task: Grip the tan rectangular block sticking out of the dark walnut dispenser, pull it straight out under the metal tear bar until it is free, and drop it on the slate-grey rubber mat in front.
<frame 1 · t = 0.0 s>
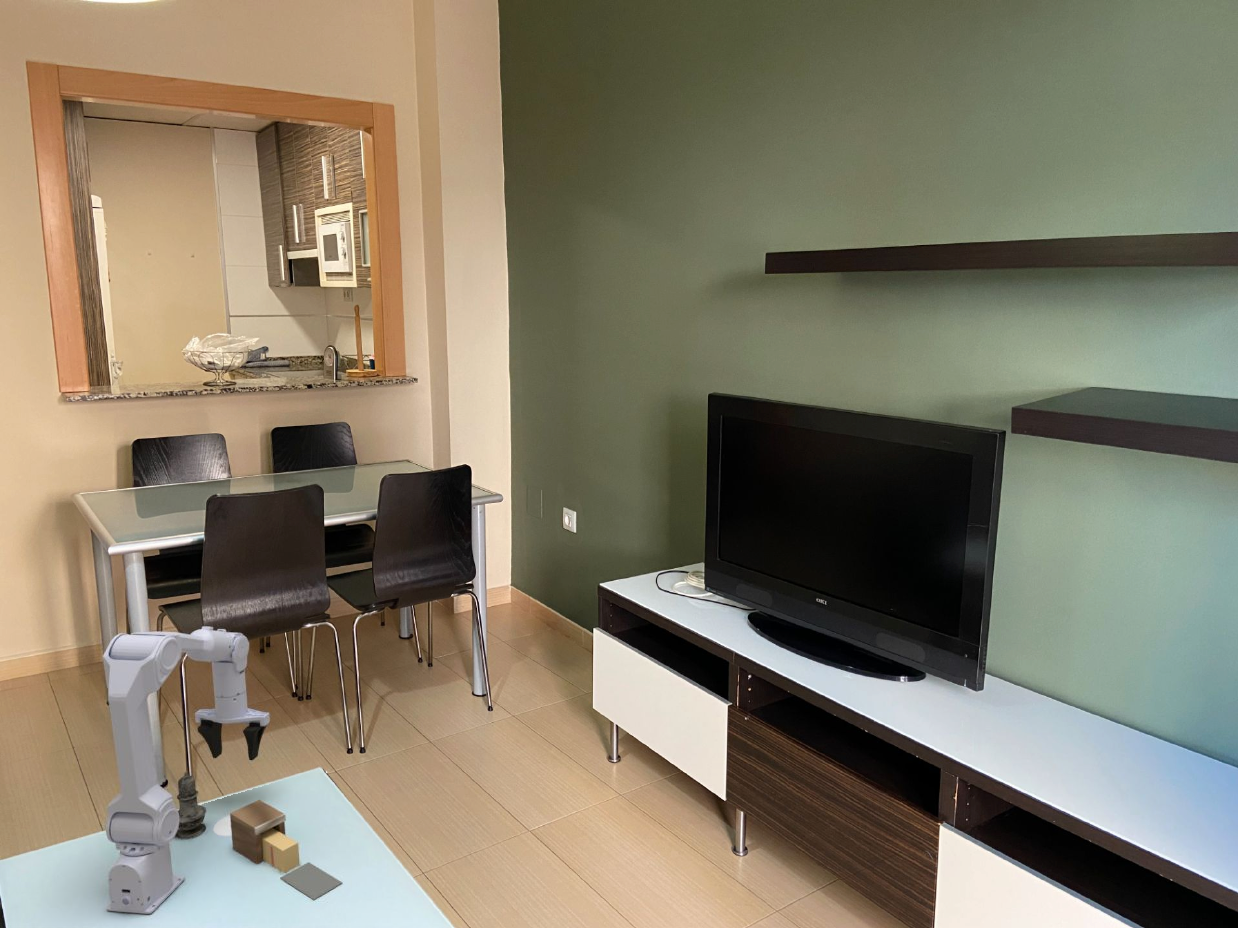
hand: (235, 756, 177), 10 cm above the table, tool pointing down, fingers open, 7 cm apart
tan rectangular block: (272, 858, 161), on the table
mat: (311, 880, 154), on the table
dispenser: (259, 848, 163), on the table
grey stone finial: (190, 831, 169), on the table
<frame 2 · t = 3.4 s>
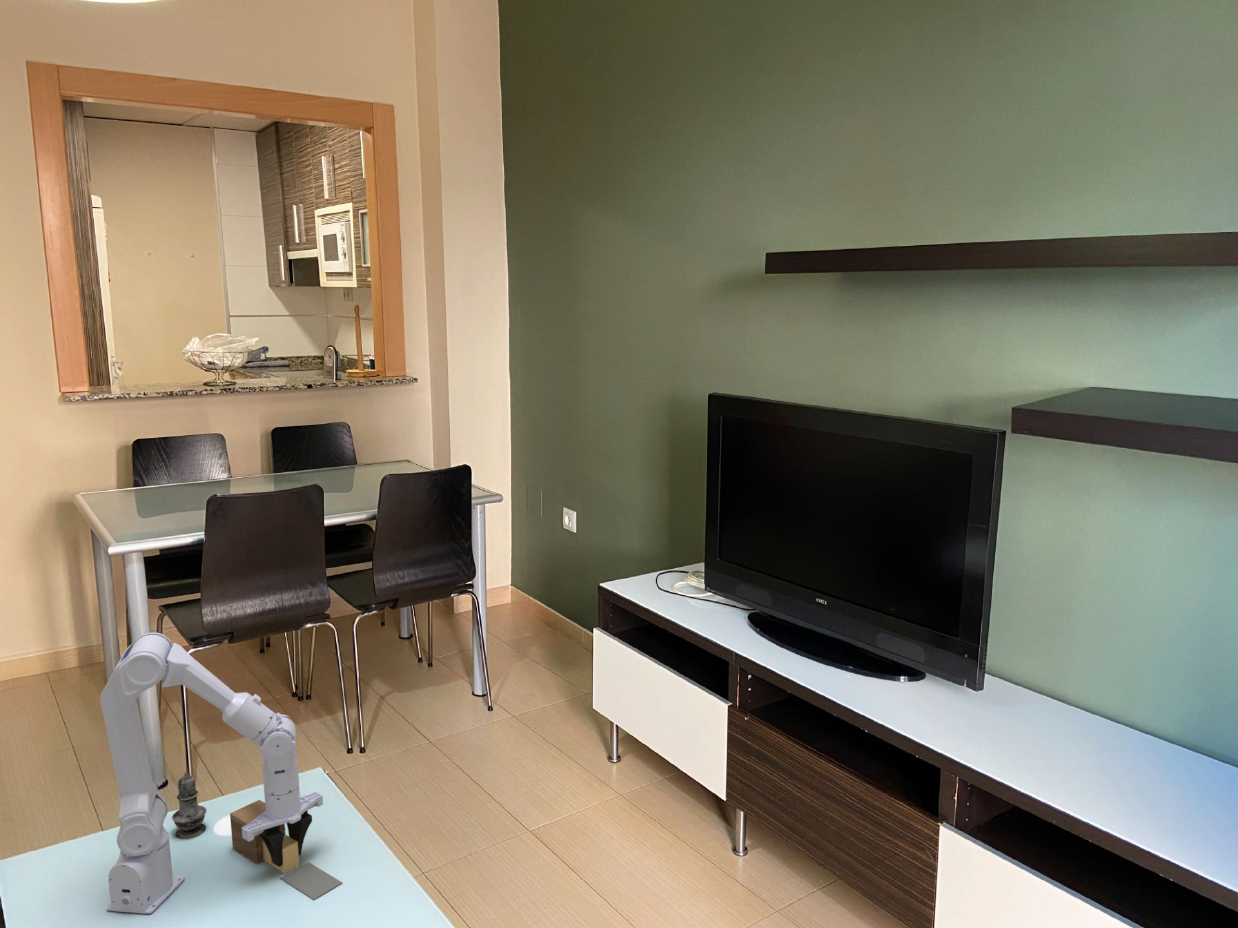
hand: (286, 858, 158), 1 cm above the table, tool pointing down, fingers closed on tan rectangular block, 3 cm apart
tan rectangular block: (272, 856, 161), on the table, touching gripper
everything else where it was.
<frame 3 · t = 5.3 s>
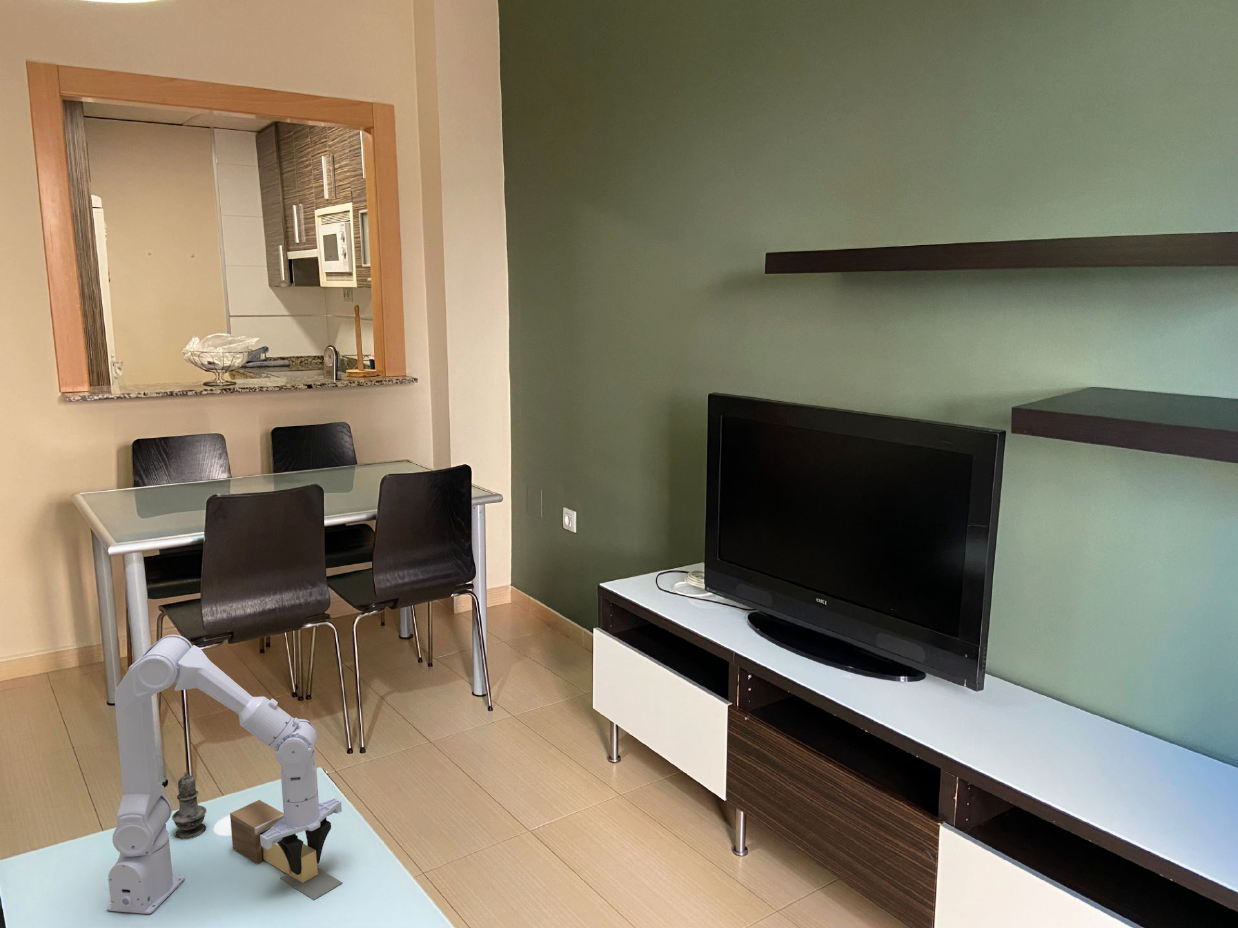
hand: (305, 866, 154), 2 cm above the table, tool pointing down, fingers closed on tan rectangular block, 3 cm apart
tan rectangular block: (290, 866, 158), on the table, touching gripper
everything else where it was.
when the fingers open (2 cm above the table, at t = 7.4 s): tan rectangular block stays where it is, resting on mat.
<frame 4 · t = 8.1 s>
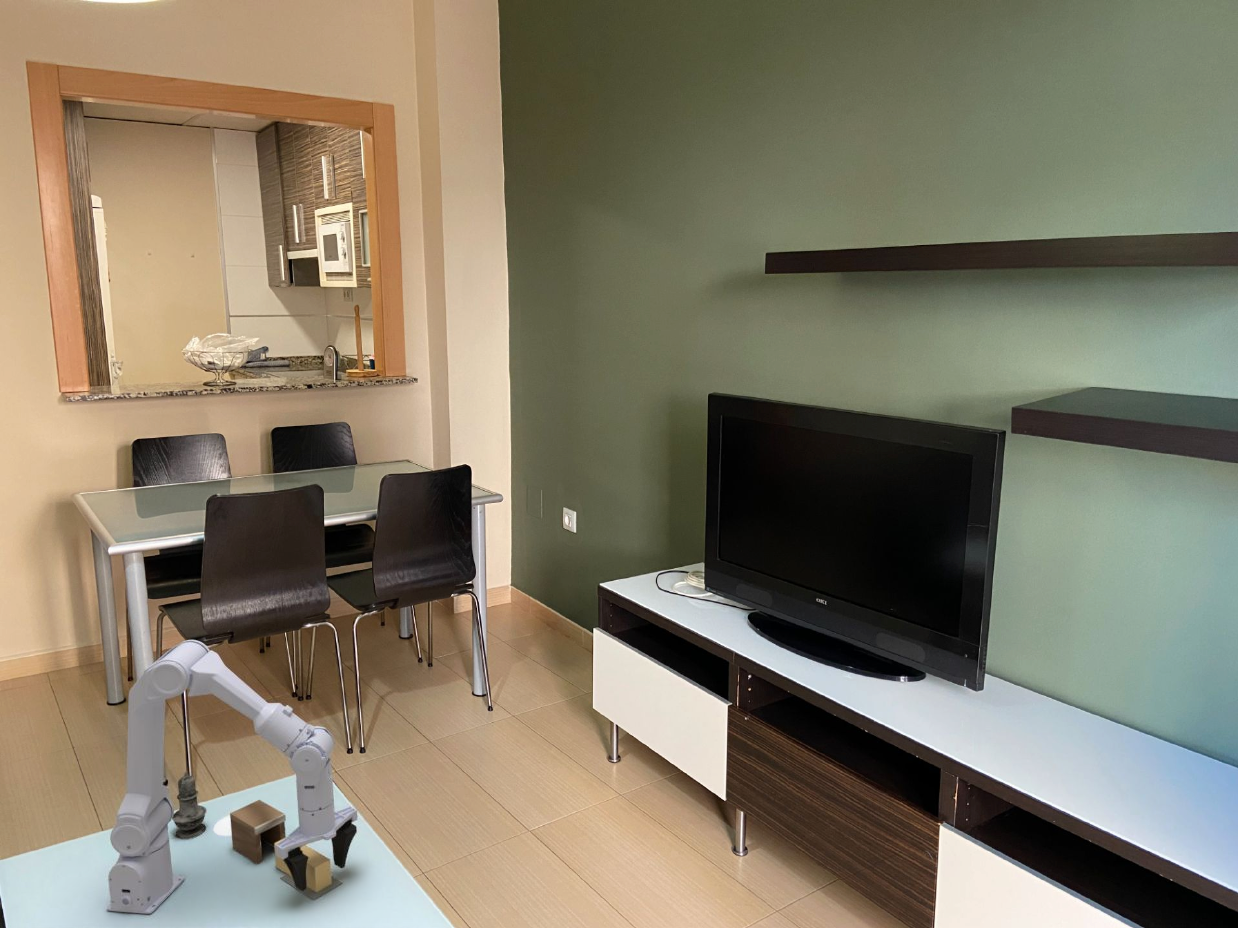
hand: (320, 876, 152), 2 cm above the table, tool pointing down, fingers open, 7 cm apart
tan rectangular block: (303, 874, 155), resting on mat
everything else where it was.
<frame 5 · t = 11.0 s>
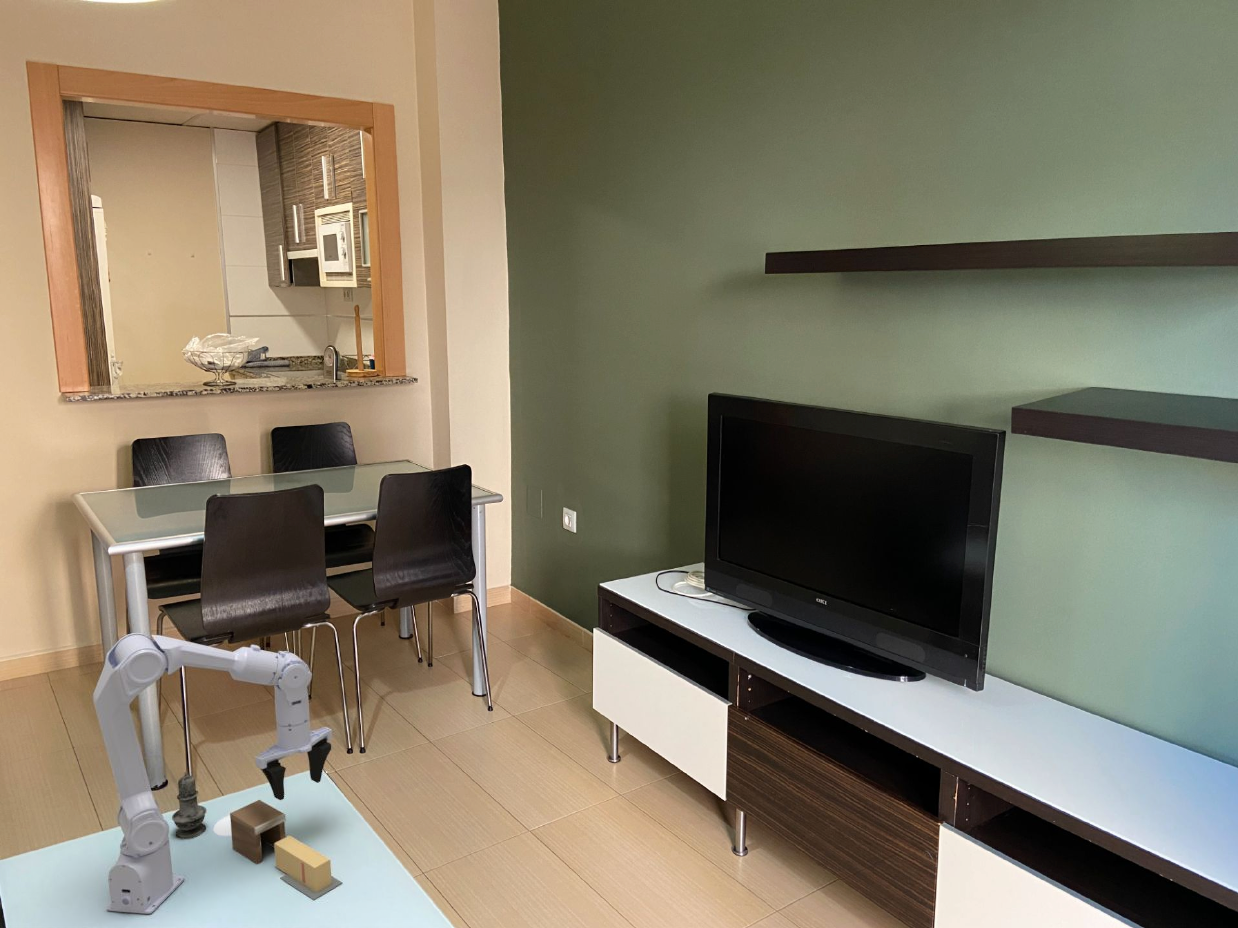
hand: (297, 788, 165), 10 cm above the table, tool pointing down, fingers open, 7 cm apart
nothing on the table moved.
at the end: tan rectangular block inside the target area on the mat (2.3 cm from its centre), point 0.2 cm above the mat's base; tan rectangular block touching mat; the gripper is holding nothing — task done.
